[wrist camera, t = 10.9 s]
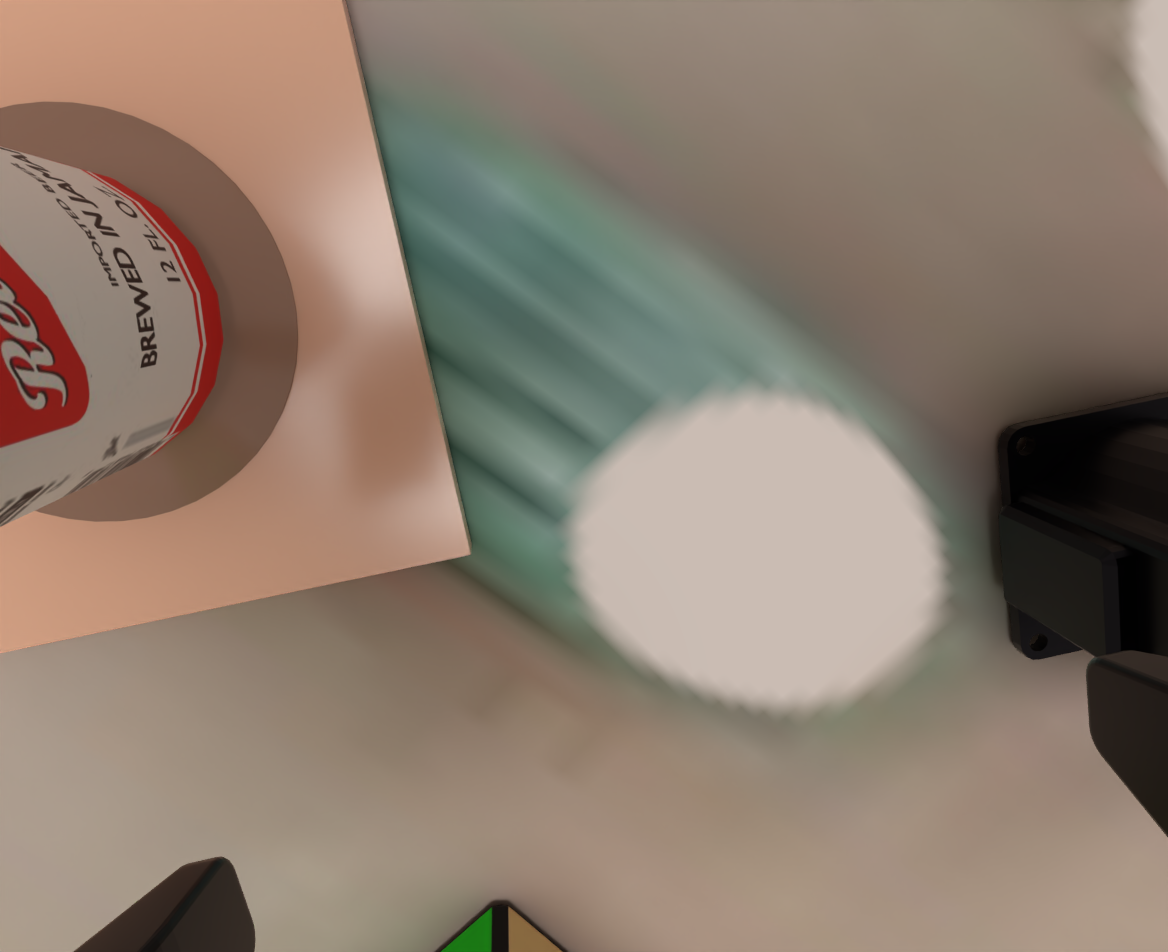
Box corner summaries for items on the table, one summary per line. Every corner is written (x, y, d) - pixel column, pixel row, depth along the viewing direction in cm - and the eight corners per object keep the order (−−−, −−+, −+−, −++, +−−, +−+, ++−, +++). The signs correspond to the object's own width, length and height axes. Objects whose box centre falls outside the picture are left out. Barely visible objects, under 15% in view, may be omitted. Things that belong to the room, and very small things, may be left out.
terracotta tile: (329, -70, 18) (320, -89, 17) (472, 544, 21) (470, 555, 20) (-349, 46, 17) (-395, 34, 16) (-93, 662, 20) (-120, 679, 20)
